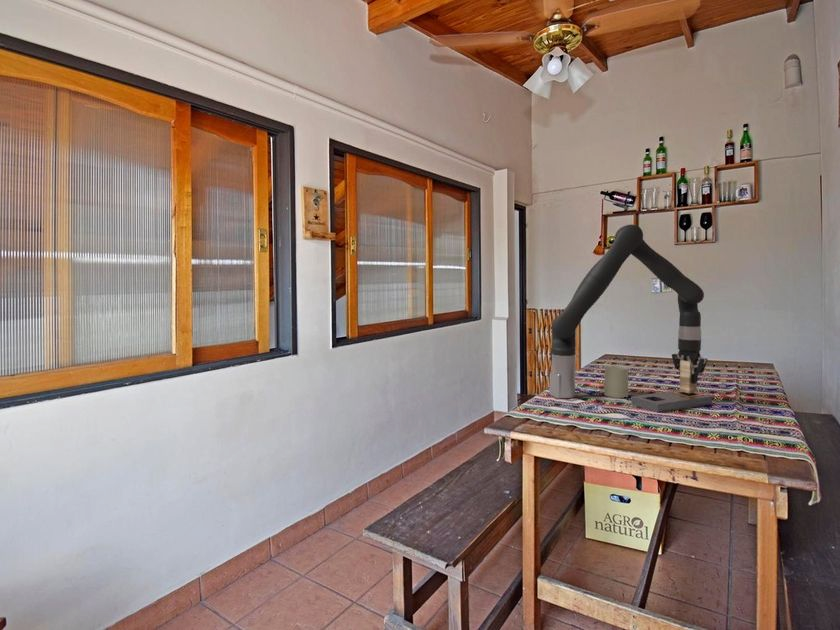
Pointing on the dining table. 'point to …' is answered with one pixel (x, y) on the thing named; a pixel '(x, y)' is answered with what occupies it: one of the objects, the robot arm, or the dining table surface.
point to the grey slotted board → (670, 400)
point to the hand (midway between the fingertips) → (688, 382)
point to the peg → (686, 378)
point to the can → (616, 381)
